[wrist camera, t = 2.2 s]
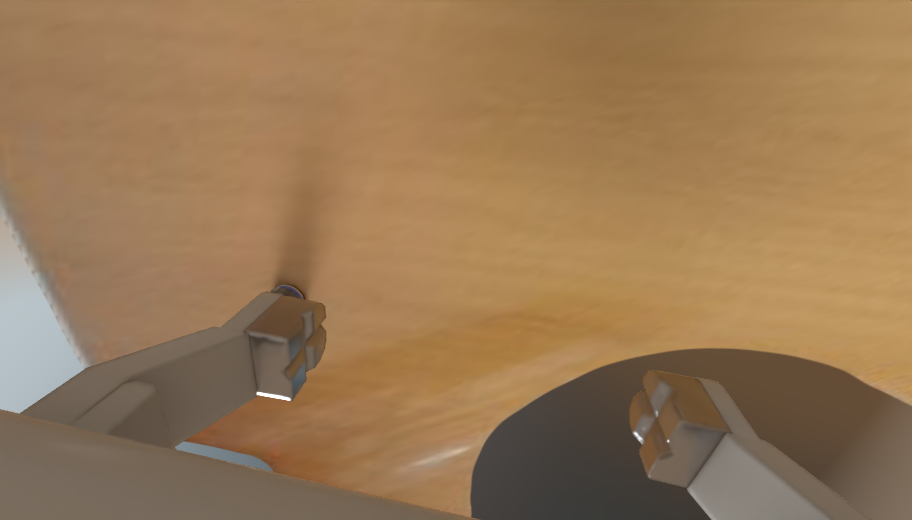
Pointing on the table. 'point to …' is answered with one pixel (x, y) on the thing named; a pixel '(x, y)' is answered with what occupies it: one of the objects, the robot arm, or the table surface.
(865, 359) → the table surface
